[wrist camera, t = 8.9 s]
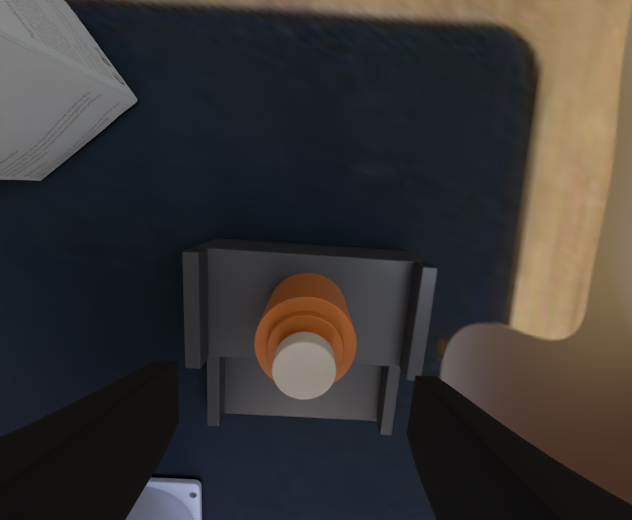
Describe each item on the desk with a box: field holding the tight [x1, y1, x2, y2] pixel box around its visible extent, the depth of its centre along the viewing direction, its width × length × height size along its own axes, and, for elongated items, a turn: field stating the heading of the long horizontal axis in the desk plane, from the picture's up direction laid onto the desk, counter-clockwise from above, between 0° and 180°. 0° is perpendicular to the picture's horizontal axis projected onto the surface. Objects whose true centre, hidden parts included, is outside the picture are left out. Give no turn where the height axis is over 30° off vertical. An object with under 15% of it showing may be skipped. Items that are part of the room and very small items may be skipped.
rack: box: [182, 238, 438, 435], centre depth 17 cm, size 12×12×5 cm
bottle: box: [254, 273, 357, 399], centre depth 13 cm, size 4×4×6 cm
